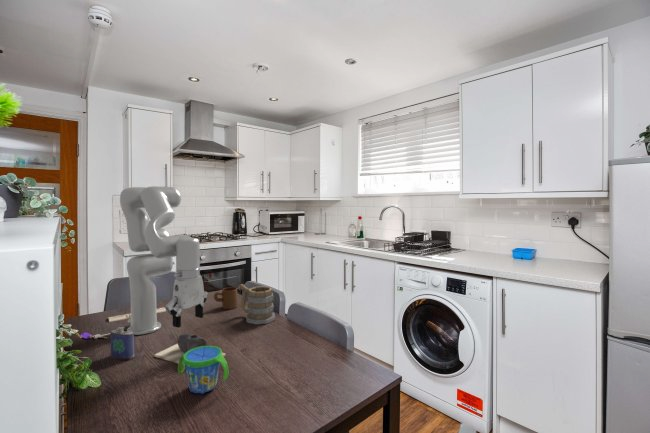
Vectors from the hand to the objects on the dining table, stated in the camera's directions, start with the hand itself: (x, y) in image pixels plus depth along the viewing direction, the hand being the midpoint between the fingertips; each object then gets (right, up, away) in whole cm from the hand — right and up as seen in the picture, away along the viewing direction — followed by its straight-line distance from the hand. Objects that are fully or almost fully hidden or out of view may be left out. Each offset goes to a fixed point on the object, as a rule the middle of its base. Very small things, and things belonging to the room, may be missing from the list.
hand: (188, 321), depth 115 cm
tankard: (+15, -11, +38) cm, 42 cm away
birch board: (+1, -12, 0) cm, 12 cm away
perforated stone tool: (+1, -12, 0) cm, 11 cm away
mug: (-3, -10, +52) cm, 53 cm away
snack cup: (+12, -13, -19) cm, 27 cm away
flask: (-23, -12, 0) cm, 26 cm away
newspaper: (-41, -11, +42) cm, 60 cm away
